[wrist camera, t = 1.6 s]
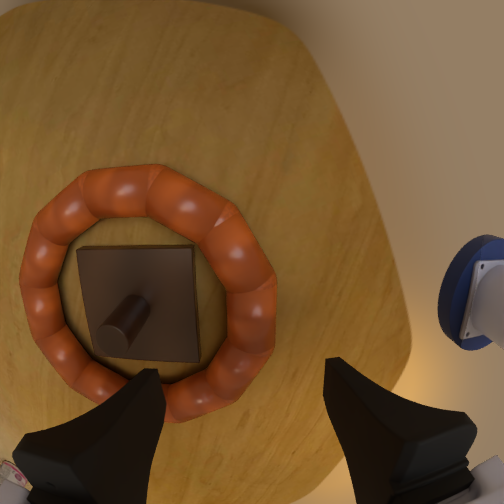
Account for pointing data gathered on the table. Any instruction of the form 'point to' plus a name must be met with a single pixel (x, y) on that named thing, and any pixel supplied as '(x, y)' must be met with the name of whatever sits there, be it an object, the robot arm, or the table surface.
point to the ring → (184, 223)
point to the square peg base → (141, 301)
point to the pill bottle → (11, 474)
